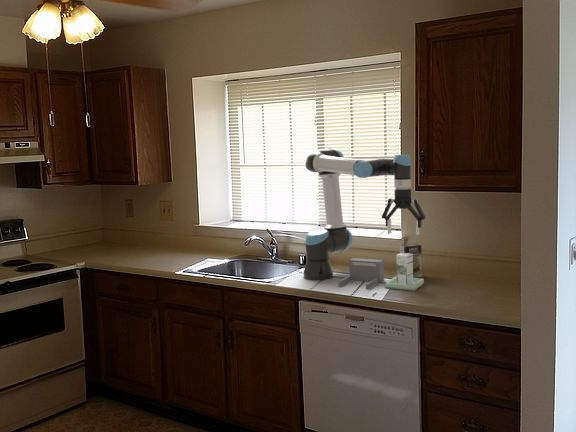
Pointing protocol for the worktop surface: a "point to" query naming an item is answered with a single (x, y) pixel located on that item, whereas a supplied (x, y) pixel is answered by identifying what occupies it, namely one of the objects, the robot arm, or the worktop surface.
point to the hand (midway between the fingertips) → (403, 234)
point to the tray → (393, 284)
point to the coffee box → (414, 257)
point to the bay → (365, 271)
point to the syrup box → (404, 268)
